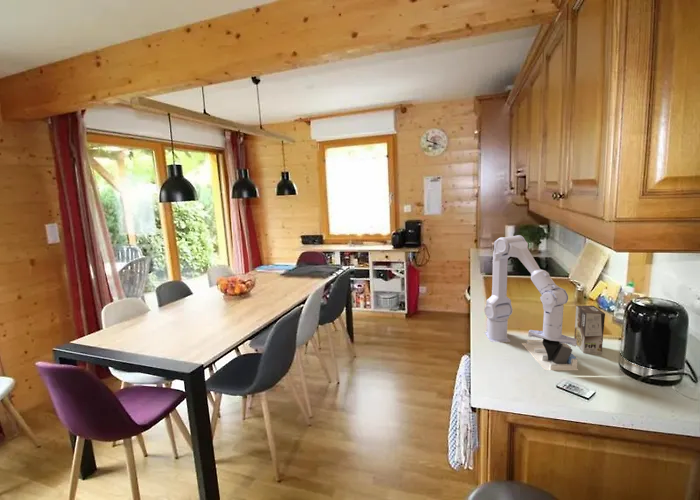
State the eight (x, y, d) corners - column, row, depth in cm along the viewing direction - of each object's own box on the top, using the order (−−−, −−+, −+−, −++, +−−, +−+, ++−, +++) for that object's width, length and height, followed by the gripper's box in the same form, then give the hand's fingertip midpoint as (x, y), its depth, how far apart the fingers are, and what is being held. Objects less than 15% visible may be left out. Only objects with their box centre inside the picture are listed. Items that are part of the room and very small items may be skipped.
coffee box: (602, 355, 131) (606, 313, 128) (583, 354, 133) (586, 313, 130) (591, 344, 140) (594, 305, 137) (573, 343, 141) (575, 304, 138)
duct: (521, 344, 143) (521, 333, 142) (550, 344, 142) (550, 333, 141) (544, 371, 122) (545, 359, 121) (578, 371, 121) (579, 359, 120)
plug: (548, 357, 128) (557, 340, 126) (559, 361, 127) (567, 343, 126) (553, 362, 124) (562, 345, 122) (564, 366, 124) (573, 348, 122)
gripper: (579, 323, 122) (576, 360, 124) (532, 315, 131) (530, 350, 133) (576, 330, 116) (573, 369, 119) (527, 321, 125) (525, 357, 128)
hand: (550, 359), depth 125 cm, fingers closed, pressing on plug
